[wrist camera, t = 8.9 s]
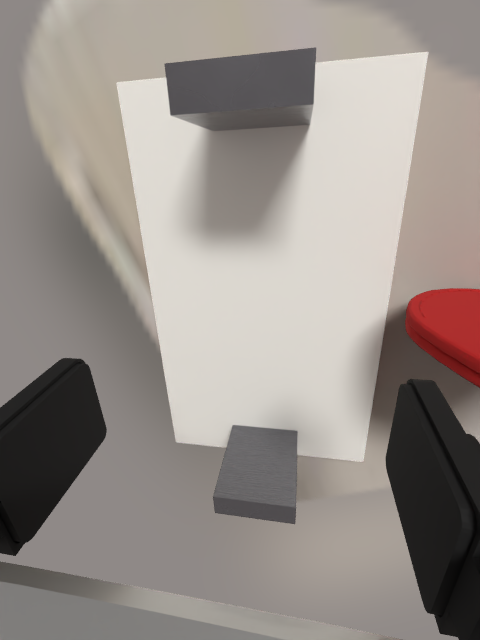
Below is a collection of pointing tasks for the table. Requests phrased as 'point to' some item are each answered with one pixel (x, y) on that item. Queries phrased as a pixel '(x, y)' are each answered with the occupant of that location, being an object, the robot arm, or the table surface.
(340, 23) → the table surface
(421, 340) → the red curved piece
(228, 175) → the board
